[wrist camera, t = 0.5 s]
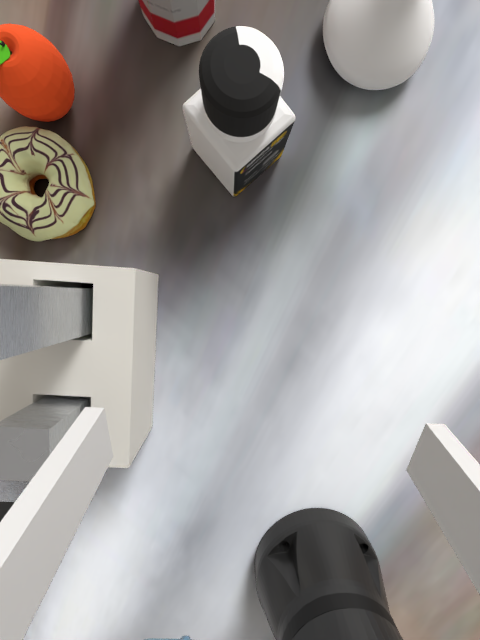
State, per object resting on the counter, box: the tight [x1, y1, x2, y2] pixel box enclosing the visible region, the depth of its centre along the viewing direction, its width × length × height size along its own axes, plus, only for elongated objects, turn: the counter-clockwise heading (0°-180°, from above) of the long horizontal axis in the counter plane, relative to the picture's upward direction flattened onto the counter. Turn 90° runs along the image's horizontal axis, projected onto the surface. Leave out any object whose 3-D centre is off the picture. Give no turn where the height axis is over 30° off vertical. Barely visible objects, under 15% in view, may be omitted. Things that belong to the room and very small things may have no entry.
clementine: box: [0, 24, 75, 122], centre depth 27 cm, size 8×7×7 cm
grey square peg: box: [0, 395, 91, 481], centre depth 27 cm, size 4×4×13 cm
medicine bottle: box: [183, 26, 295, 197], centre depth 25 cm, size 7×7×12 cm
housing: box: [0, 259, 159, 468], centre depth 28 cm, size 12×18×8 cm, turn 176°
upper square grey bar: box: [0, 284, 93, 360], centre depth 23 cm, size 4×4×18 cm
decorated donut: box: [0, 126, 96, 241], centre depth 29 cm, size 10×11×4 cm
